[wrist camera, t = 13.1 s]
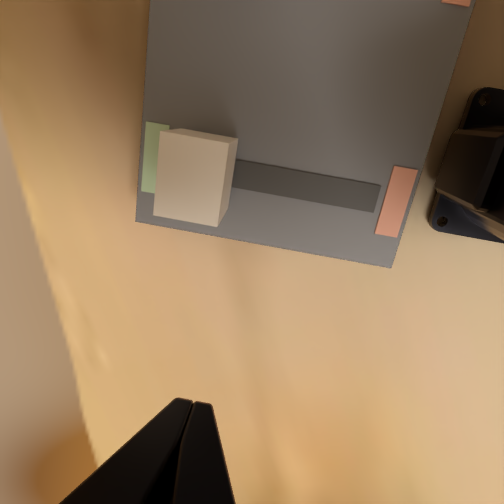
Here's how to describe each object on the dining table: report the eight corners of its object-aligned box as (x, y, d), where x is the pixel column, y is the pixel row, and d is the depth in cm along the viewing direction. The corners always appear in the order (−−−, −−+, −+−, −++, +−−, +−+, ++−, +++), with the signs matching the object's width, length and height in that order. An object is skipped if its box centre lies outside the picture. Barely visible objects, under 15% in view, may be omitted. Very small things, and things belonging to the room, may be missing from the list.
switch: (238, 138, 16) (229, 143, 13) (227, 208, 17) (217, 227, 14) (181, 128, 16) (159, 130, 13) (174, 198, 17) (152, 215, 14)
